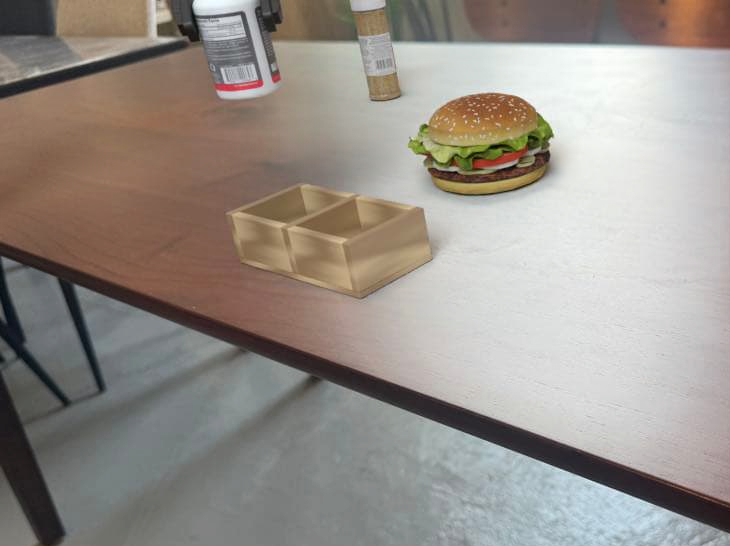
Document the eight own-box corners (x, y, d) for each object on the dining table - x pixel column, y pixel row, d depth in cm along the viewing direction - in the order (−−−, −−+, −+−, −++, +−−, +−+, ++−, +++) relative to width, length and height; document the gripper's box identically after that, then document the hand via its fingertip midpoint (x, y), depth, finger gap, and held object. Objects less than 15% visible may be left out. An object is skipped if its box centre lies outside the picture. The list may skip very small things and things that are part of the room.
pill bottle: (251, 83, 75) (218, -42, 70) (297, 86, 73) (266, -44, 67) (204, 100, 71) (165, -31, 66) (250, 103, 69) (213, -32, 63)
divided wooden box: (240, 262, 75) (225, 213, 72) (312, 229, 80) (300, 182, 77) (360, 299, 66) (348, 244, 64) (432, 259, 71) (423, 207, 69)
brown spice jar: (400, 91, 123) (381, -13, 115) (402, 98, 119) (384, -8, 112) (368, 95, 122) (347, -8, 115) (369, 103, 118) (349, -4, 111)
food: (402, 174, 91) (388, 96, 87) (525, 148, 95) (517, 72, 90) (438, 213, 80) (424, 127, 76) (575, 182, 84) (570, 98, 80)
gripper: (90, -181, 66) (118, 11, 63) (280, -199, 68) (316, -14, 65) (126, -104, 73) (153, 72, 70) (296, -122, 75) (330, 48, 72)
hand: (231, 29), depth 67 cm, fingers closed on pill bottle, 5 cm apart
